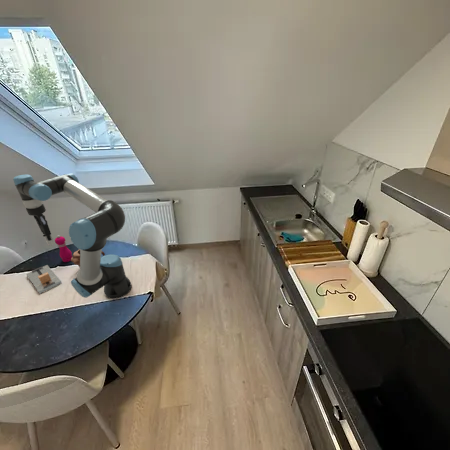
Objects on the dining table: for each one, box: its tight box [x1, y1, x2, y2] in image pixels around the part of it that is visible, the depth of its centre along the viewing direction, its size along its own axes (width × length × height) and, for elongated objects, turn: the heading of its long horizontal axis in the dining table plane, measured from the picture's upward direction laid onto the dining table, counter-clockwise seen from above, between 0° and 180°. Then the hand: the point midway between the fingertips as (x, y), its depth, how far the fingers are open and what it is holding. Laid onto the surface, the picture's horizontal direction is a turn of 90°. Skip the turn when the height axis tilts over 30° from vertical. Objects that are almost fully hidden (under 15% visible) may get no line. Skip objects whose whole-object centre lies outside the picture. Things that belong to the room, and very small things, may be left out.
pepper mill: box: [54, 234, 73, 263], centre depth 170 cm, size 7×7×20 cm
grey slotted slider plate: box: [25, 264, 62, 295], centre depth 157 cm, size 24×12×3 cm, turn 49°
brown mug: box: [70, 249, 106, 268], centre depth 164 cm, size 20×12×14 cm, turn 113°
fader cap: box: [38, 272, 51, 284], centre depth 152 cm, size 2×5×5 cm, turn 139°
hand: (51, 244), depth 137 cm, fingers closed
